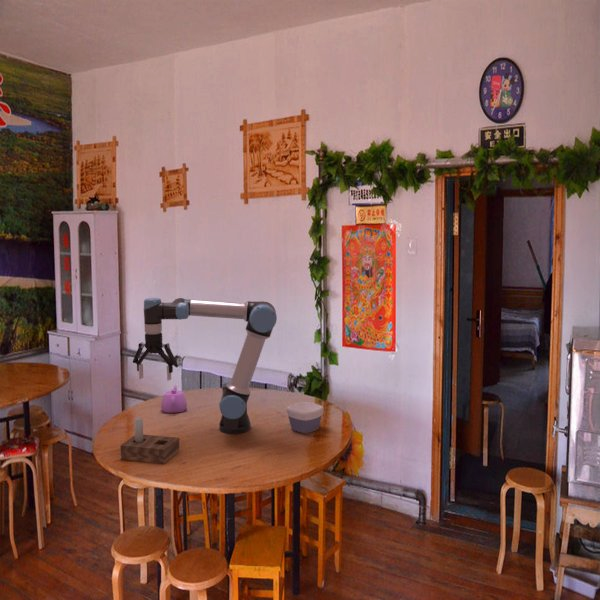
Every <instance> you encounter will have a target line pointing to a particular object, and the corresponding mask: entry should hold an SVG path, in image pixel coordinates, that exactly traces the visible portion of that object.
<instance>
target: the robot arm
mask: <svg viewBox="0 0 600 600" xmlns="http://www.w3.org/2000/svg"><path fill="white" fill-rule="evenodd" d="M189 316H191V317H193V316H194V317H203V318H204V317H205V318H220V319H234V320H235V319H236V320H244V322H247V323H246V326H245V331H246V336H245V339H244V343H243V346H242V348H241V351H240V353H239V357H238V360H237V362H236V365H235V369H234V372H233V375H232V377H231V380H229V381H225V382H223V383H222V387H221V390H222V396H221V399H220V402H219V411H220V413H221V418H220V420H219V425H218V429H219V431H220V432H223V433H225V434H241V433H247V432H248V431H250V430H251V429H252V425H251V424H252V423H251V420H250V418H249V414H248V401H249V398H250V395H251V390H250V385H251V382H252V380H253V377H254V373H255V371H256V368H257V365H258V362H259V359H260V357H261V353H262V351H263V348H264V345H265V342H266V340H267V339H269V338H271V336H272V332H273V330H274V327H276V324H277V319H278V316H277V312H276V309H275V307H274V305H273V304H271V303H270V302H269V301H260V300H259V301H246V302H244V303H242V302H234V301H233V302H231V301H216V300H215V301H214V300H200V299H199V300H198V299H186V298H183V297H179V298H176V299H174V300H173V301H172V302H162V299H161V298H160V297H147V298H145V299H144V301H143V318H144V341H145V343H144V342H140V343H138V345H137V346H138V348H137V350H136V352H135V355H134V357H133V360H132V363H133V364H136V370H137V372H138V379H139V380H142V379H143V378H144V363H142V362H143V361H144V360H145V359H146V358H147V356H148V355H149V354H154V355H155V354H158V355H160V357H161V358H162V359H163V361H164V362H165V363H166V364H167V365H166V380H167V382H169V381H171V380H172V373H173V372H174V369H173V366H174V365H177V360H176V358H175V356H174V354H173V351H172V350H171V348H170V342H169V343H163V333H162V332H163V325H162V321H163V320H181V321H182V320H187V319H188V318H189ZM144 348H145V351H144V352H143V350H144ZM163 349H164V350H163ZM142 352H143V354H142Z"/></svg>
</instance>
